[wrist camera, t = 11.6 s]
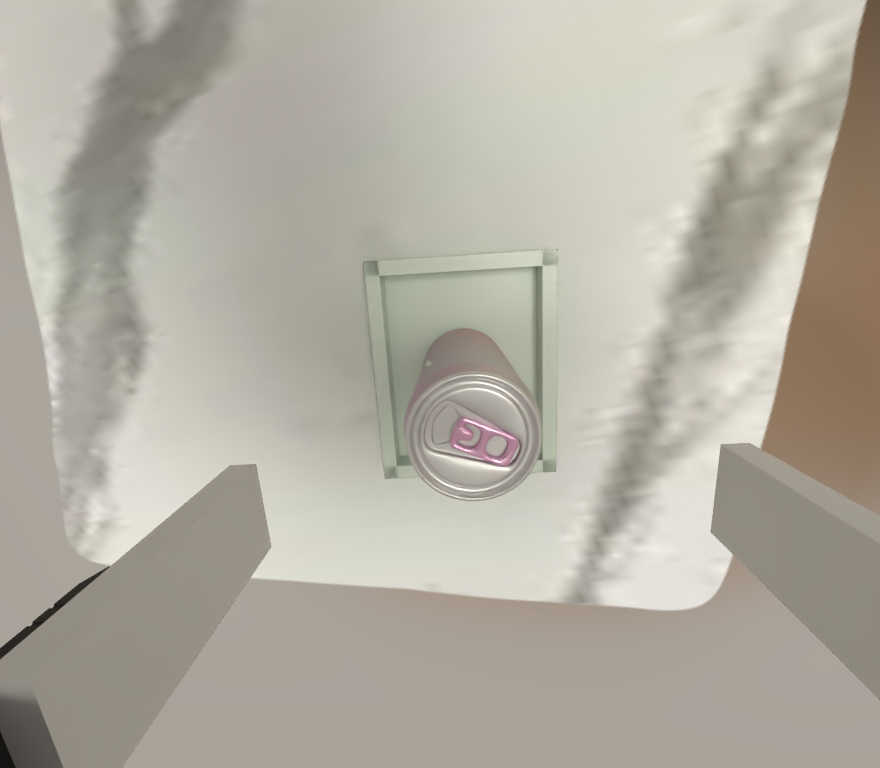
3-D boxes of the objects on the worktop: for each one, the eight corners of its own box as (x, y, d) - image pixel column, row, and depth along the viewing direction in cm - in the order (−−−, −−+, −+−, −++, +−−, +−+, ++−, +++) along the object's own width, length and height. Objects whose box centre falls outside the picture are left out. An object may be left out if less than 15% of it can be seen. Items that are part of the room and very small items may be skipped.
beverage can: (485, 415, 32) (511, 525, 18) (413, 388, 32) (380, 477, 17) (515, 344, 31) (572, 400, 16) (441, 315, 30) (431, 345, 16)
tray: (370, 263, 30) (363, 261, 28) (549, 251, 30) (557, 249, 27) (389, 464, 34) (384, 478, 32) (548, 457, 34) (556, 471, 31)
